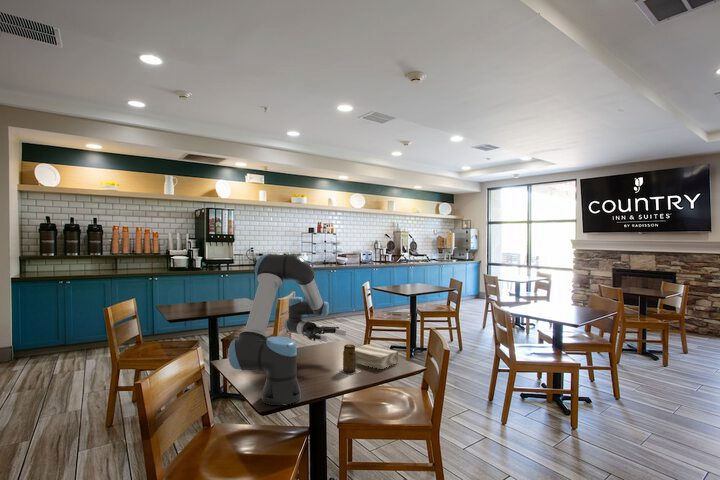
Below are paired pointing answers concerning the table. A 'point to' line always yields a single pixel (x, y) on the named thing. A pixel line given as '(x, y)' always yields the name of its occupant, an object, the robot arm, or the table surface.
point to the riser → (376, 356)
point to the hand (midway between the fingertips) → (336, 335)
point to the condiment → (349, 360)
